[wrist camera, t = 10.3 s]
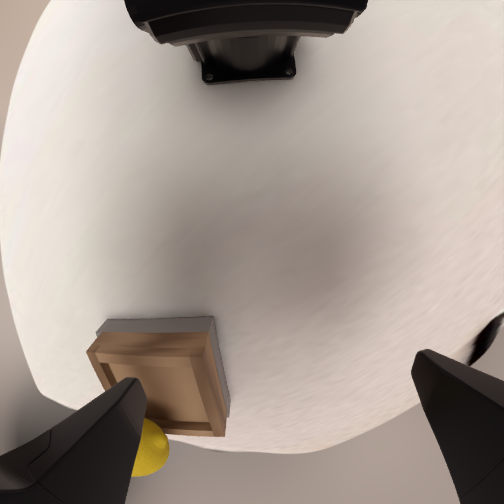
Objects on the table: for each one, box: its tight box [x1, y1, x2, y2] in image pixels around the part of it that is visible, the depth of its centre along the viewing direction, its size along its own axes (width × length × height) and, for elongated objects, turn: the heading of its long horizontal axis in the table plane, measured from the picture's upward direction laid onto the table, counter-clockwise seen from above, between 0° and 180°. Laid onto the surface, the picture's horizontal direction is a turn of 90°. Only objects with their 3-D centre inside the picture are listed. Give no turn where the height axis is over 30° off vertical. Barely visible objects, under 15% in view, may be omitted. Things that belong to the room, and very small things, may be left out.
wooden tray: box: [86, 331, 227, 437], centre depth 19 cm, size 9×9×3 cm
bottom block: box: [96, 316, 230, 417], centre depth 22 cm, size 10×10×3 cm
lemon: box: [131, 418, 169, 476], centre depth 16 cm, size 6×6×8 cm
